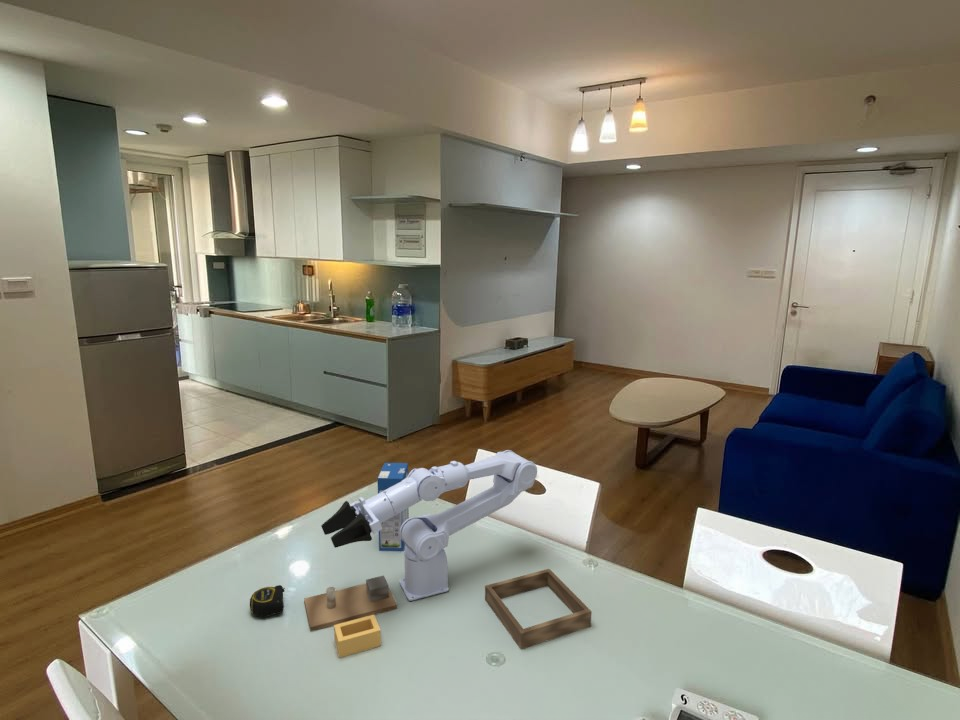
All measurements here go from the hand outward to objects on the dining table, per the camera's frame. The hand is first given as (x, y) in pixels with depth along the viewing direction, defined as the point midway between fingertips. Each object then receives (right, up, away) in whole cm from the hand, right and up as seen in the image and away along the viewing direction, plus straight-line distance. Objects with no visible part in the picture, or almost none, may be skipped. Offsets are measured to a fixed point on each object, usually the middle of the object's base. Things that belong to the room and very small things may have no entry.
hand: (327, 536), depth 109 cm
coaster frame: (+43, -19, +7) cm, 47 cm away
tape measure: (-14, -18, +7) cm, 24 cm away
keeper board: (+3, -18, +8) cm, 20 cm away
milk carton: (+8, -13, +34) cm, 37 cm away
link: (+7, -20, -3) cm, 21 cm away
